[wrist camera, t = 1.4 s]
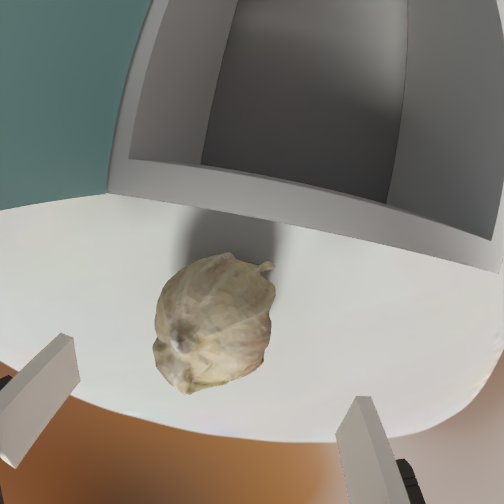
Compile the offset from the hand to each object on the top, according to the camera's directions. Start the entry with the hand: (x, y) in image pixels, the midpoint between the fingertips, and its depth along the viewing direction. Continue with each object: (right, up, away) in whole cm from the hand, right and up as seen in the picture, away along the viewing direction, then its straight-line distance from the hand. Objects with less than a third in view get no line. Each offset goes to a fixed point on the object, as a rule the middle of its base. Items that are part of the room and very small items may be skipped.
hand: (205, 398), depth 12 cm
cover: (-2, +19, -14) cm, 24 cm away
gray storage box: (+7, +23, +5) cm, 25 cm away
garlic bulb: (0, +3, +11) cm, 12 cm away
